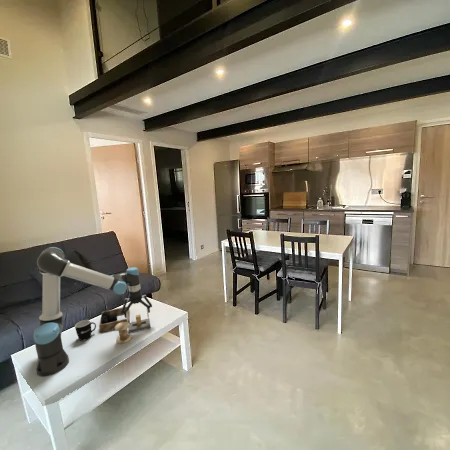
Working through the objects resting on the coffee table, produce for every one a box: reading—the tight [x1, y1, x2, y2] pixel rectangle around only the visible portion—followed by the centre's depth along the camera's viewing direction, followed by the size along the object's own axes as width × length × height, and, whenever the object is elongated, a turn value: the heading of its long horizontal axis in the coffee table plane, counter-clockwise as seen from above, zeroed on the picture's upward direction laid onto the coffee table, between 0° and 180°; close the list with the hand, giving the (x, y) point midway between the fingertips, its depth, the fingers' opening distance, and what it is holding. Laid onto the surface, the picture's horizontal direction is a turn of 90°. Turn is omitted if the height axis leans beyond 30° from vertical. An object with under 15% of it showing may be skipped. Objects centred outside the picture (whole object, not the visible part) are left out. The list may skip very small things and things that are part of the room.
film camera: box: [100, 310, 118, 324], centre depth 182 cm, size 15×10×9 cm, turn 18°
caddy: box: [98, 306, 131, 333], centre depth 185 cm, size 19×21×5 cm
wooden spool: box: [114, 322, 132, 345], centre depth 162 cm, size 9×9×10 cm
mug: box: [74, 319, 97, 341], centre depth 168 cm, size 12×9×10 cm
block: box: [135, 313, 142, 326], centre depth 175 cm, size 3×3×8 cm
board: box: [128, 317, 152, 334], centre depth 176 cm, size 14×10×2 cm
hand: (138, 319), depth 175 cm, fingers open, 13 cm apart
